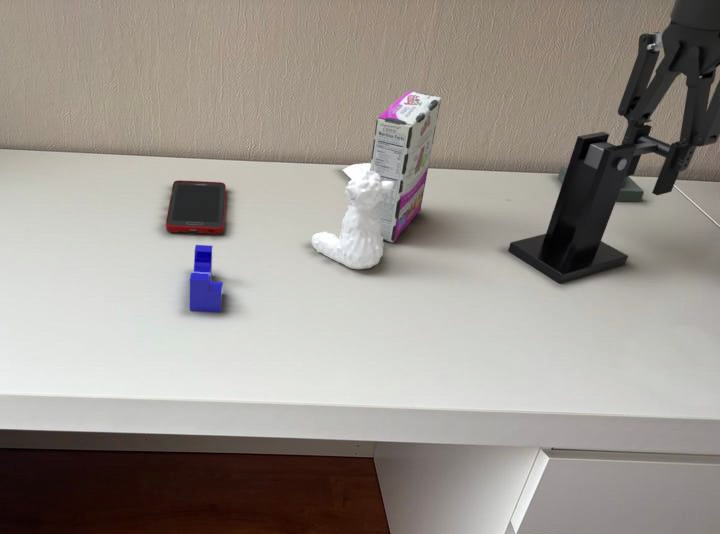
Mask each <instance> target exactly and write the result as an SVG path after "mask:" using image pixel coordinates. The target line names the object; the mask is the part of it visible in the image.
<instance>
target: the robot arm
mask: <svg viewBox="0 0 720 534" xmlns="http://www.w3.org/2000/svg"><path fill="white" fill-rule="evenodd" d="M670 12H671V13H670V14H669V15H670V22H669V24H668V25H667V26H666V27H665V28H664V30H663V31H662V32H659V31H654V32H645V33H641V34H640V35H639V38H638V48H637V54H636V55H637V57H636V59H635V61H634V64H633V67H632V70H631V73H630V75H629V77H628V81H627V83H626V86H625V89H624V92H623V95H622V96H621V100H620V103H619V105H618V109H617V114H618V116H620V117H624V119H626V121H627V127H626V129H625V133H624V136H623V138H622V141H621V143H620V145H623V144H628V143H631V144H633V145H635V144H636V139H637V138H638V136H639V135H641V134H645V135H648V136H650V133H651V130H652V128H653V126H651V125H650V124H647V123H650V122H652V119H651V117H652V115H653V114H654V112H655V111H656V109H657V108H658V106H659V105H660V103H661V102H662V100H663V99H664V97H665V95H666V94H667V92H668V91H669V89H670V88H671V86H672V84H673V83H674V81H675V80H676V78H677V77H678V76H680V75H681V74H683V75H684V76H685V77H686V79H685V86H686V87H687V89H686V96H685V103H684V109H683V110H684V111H683V116H682V122H681V129H680V135H679V140H677V141H675V142H672V143H671V144H670V145H671V147H670V149H669V152H668V154H667V157H666V158H665V159H664V162H663V164H662V167H661V170H660V172H659V174H658V177H657V179H656V182H655V185H654V186H653V189H652V192H651V193H652V194H653V195H655V196H661V195H664V194H667V193H671V192H672V191H673V188H674V186H675V183H676V182H677V179H678V177H679V174H680V172H684V171H686V170H687V169H688V168H689V165H690V164H691V162H692V159H693V156H694V154H695V152H696V149H697V148H698V147H699V148H700V147H705V146H708V145H713V144H716V143H717V142H718V140H719V138H720V79H718V82H717V84H716V86H715V89H714V92H713V94H712V96H711V100H710V101H709V99H710V93H711V88H712V85H713V84H714V82H715V79H716V74H717V69H718V67H719V66H720V0H675V1H674V3H673V7H672V9H671V11H670ZM662 49H663V54H664V56H663V58H661V61H660V63H659V64H658V66H657V67H656V65H657V62H658V60H659V57H660V53H661V50H662ZM655 67H656V69H655ZM654 71H655V72H654ZM653 73H655V74H654V76H653V78H652V75H653ZM651 78H652V79H651ZM641 157H642V154H641V155H636V156H633V158H632V160H631V163H630V166H629V168H628V171H627V173H626V176H629V177H630V176H634V175H635V173H636V171H637V167H638V165H639V162H640V159H641ZM626 176H625V177H626Z"/></svg>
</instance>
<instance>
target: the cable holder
mask: <svg viewBox="0 0 720 534" xmlns="http://www.w3.org/2000/svg"><path fill="white" fill-rule="evenodd" d="M213 247H214V246H213V245H207V244H206V245H205V244H195V246H194V257H193V258H194V260H193V272H190V277H189V311H193V312H195V311H196V312H210V313H212V312H213V313H221V312H222V304H223V291H224V290H223V289H224V282H223V281H212V276H213Z"/></svg>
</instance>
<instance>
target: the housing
mask: <svg viewBox="0 0 720 534" xmlns="http://www.w3.org/2000/svg"><path fill="white" fill-rule="evenodd" d="M567 168H568V167H560V168H559V172H558V174H557V179H558V180H559V181H560V183H563V180H564V177H565V174H566V171H567ZM644 193H645V191H644V189H643V188H642V187H640V186H639V184H637V183H636V182H635V181H634V180H633V179H632V178H631V177H630V176H626V177H625V179H624V181H623V184H622V187H621V189H620V192H619V195H618V197H617V200H616V202H634V203H635V202H637V203H641V201H642V198H643V196H644Z"/></svg>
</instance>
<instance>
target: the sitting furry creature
mask: <svg viewBox="0 0 720 534" xmlns="http://www.w3.org/2000/svg"><path fill="white" fill-rule="evenodd" d="M393 185H394V183H393V181H381V176H380V175H379V174H378V173H376V172H375V171H362V172H358V173H357V174H356V176H355V177H354V178H353V179H352V180H351V179H350V180H349V181H348V182H347V185H346V186H345V191H344V196H345V197H346V198H347V199H348V201H349V202H350V204H349V205H347V211H346V212H344V217H343V218H342V221H341V231H340V234H339V237H337V236H336V235H335V233H332V232H328V231H326V230H324V231H321V232H317V233H314V234H313V235H312V238H311V245H312V247H313V248H314V249H315V251H316V253H318V254H319V253H320V254H322V255H324V256H326V257H327V258H329V259H331V260H333V261H335V262H337V263H339V264H342V265H343V266H345V267H346V268H348V269H352V270H353V269H354V270H367V269H371V268H372V267H374V266H376V265H378V264H379V263H380V261H381V260H380V259H381V257H383V256H384V247H385V243H384V240H383V237H382V236H381V233H382V232H381V230H380V229H381V219H380V217H379V216H380V213H379V212H378V209H377V207H376V205H378V203H379V202H380V201H381V200H382V196H383V193H387V192H390V191H391V190H392V188H393Z"/></svg>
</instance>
